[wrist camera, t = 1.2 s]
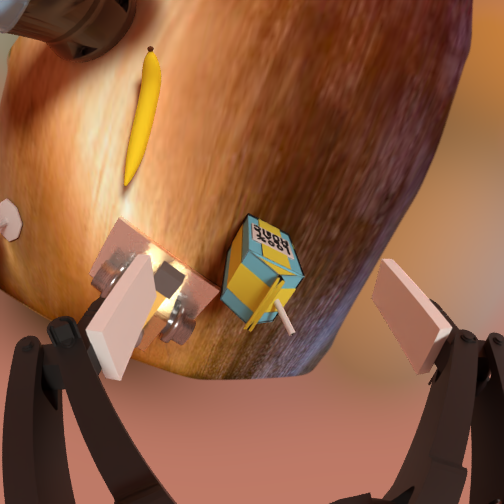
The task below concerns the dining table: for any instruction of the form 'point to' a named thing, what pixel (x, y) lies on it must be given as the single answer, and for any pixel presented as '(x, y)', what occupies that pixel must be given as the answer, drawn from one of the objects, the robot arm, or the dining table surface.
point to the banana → (143, 114)
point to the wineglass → (10, 220)
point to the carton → (260, 273)
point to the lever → (163, 289)
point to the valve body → (136, 242)
